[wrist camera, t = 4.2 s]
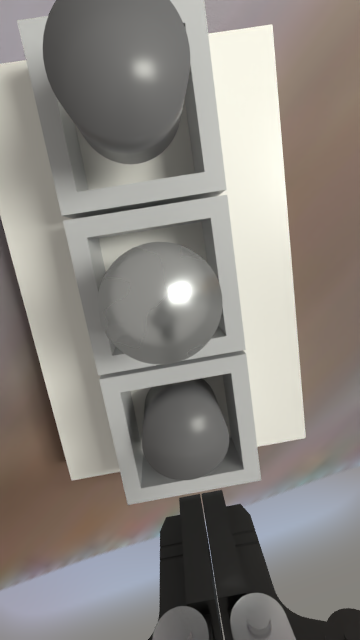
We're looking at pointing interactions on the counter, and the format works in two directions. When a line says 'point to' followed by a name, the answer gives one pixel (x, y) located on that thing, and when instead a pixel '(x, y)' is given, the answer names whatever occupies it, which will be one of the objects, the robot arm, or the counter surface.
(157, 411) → the charcoal knob
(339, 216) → the counter surface
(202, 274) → the steel knob
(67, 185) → the panel
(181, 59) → the charcoal knob
